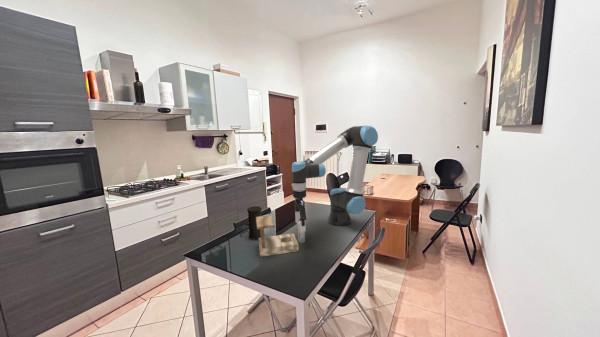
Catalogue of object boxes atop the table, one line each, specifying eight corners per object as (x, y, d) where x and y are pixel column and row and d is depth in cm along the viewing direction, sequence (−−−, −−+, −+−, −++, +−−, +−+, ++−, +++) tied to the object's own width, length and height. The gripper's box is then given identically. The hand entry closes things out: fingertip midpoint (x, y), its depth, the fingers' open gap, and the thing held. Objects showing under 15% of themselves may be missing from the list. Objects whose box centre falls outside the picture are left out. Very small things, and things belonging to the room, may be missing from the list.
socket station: (293, 239, 142) (292, 212, 140) (298, 251, 128) (297, 222, 125) (258, 244, 138) (256, 216, 136) (259, 257, 124) (257, 227, 121)
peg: (304, 239, 142) (303, 219, 140) (305, 242, 138) (305, 222, 136) (297, 240, 141) (296, 220, 140) (298, 243, 138) (298, 222, 136)
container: (266, 234, 151) (264, 206, 149) (260, 240, 143) (258, 211, 140) (253, 233, 154) (251, 205, 151) (246, 239, 145) (243, 210, 143)
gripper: (288, 185, 146) (290, 219, 150) (297, 196, 122) (298, 236, 125) (301, 184, 148) (302, 218, 151) (311, 194, 124) (312, 234, 127)
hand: (300, 226), depth 138 cm, fingers open, 13 cm apart
